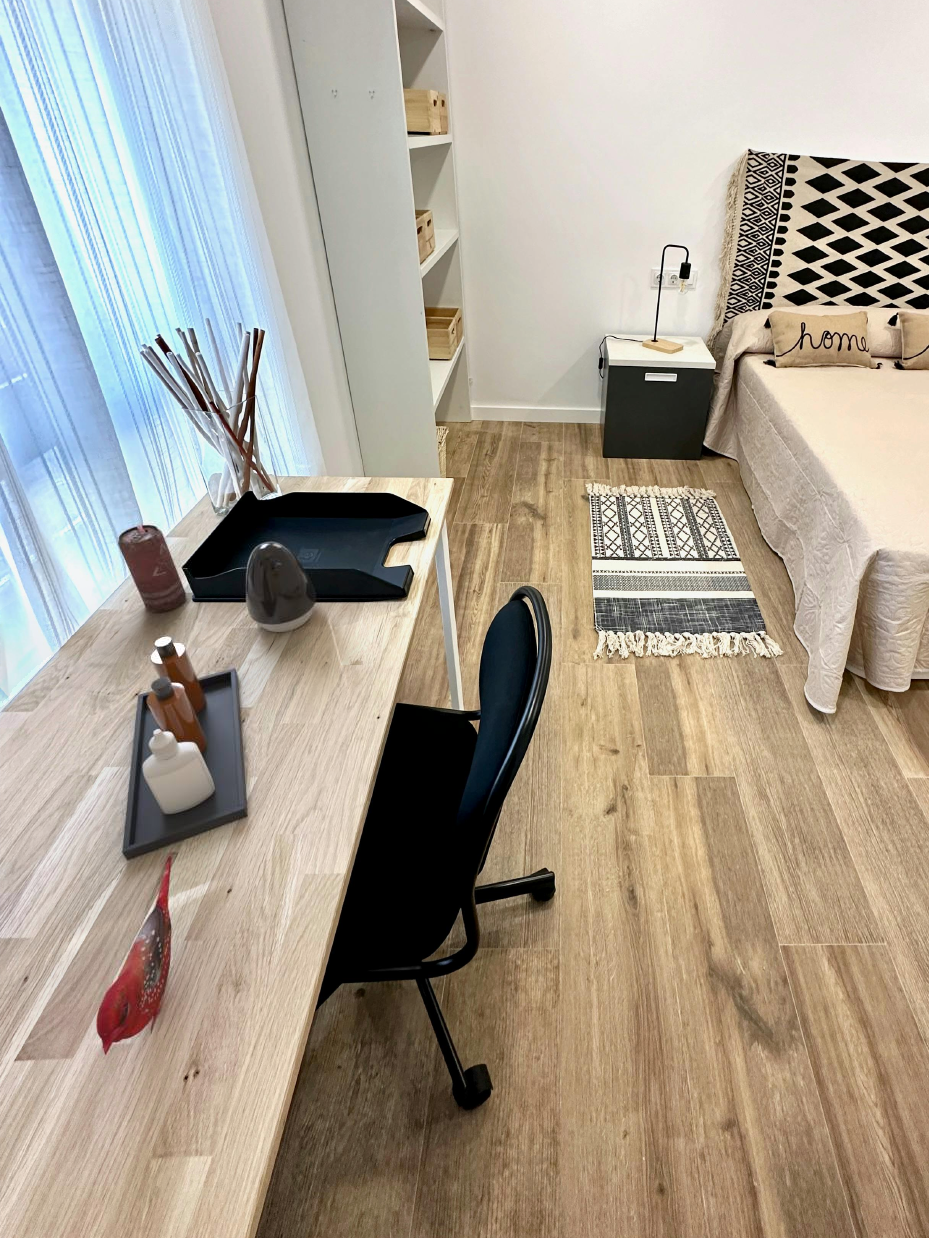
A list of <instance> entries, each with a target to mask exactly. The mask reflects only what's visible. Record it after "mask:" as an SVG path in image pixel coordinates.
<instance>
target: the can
mask: <svg viewBox="0 0 929 1238" xmlns="http://www.w3.org/2000/svg"><path fill="white" fill-rule="evenodd" d="M117 539H118V541H117V545H118V548H119V550H120V552H121V554H122V557H123V559H124V560H125V563H126V567H127V568H128V570H129V572H130V575H131V577H132V580H133V582H134V584H135V586H136V590H137V591H138V594H139V595H140V596H139V597H140V598H141V600H142V602H143V605H144V607H145V609H147V610H149V611H150V612H152V613H164V611H165V612H169V611H172V610H174V609H176V608H177V607H179V606H181V604H183V603H184V601H185V599H186V596H187V595H186V594H187V593H186V591H185V588H184V585H183V583H182V580H181V577H180V574H179V572H178V570H177V567H176V564H175V562H174V560H173V557H172V555H171V551H170V549H169V546H168V544H167V541H166V539H165V536H164V533H163V532H162V530H160V529H159V528H158V527H157V526H155V525H153V524H139V525H137V526H133V527H131V528H129V529H126V530H124V531H123V532H122V533H120V534H119V536H118V538H117Z"/></svg>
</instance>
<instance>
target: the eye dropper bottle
mask: <svg viewBox="0 0 929 1238" xmlns="http://www.w3.org/2000/svg"><path fill="white" fill-rule="evenodd" d="M153 733H154V737H153V738H152V739H151V740H150V742H149V747H150V749H151V751H152V753H153V755H151V756H150V757H149V758H148V759H147V760H146V761H145V762H144V763H143V766H142V767H143V774H144V777H145V779H146V781H147V783H148V785H149V787H150V789H151V791H152V793H153V794H154V796H155V798H156V800H157V802H158V804H159V806H160V808H161V809H162V811H163V812H164V813H165V814H174V813H178V812H182V811H185V810H188V809H190V808H192V807H194V806H196V805H198V804H200V803H201V802H203V801H204V800H206V799H207V798H208V797H210V796H211V795H212V794H213V793H214V790H215V787H214V783H213V780H212V777H211V775H210V773H209V771H208V768H207V766H206V764H205V762H204V759H203V757H202V755H201V753H200V751H199V749H198V747H197V745H196V744H195V743H193V742H181V743H177V741H176V739H175V737H174V735H173V734H172V733H171V732H162V731H161V730H160V729H156V730H155V731H154V732H153Z"/></svg>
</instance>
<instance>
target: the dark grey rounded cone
mask: <svg viewBox="0 0 929 1238" xmlns="http://www.w3.org/2000/svg"><path fill="white" fill-rule="evenodd" d="M247 560H248V561H247V565H246V569H245V583H244V585H245V586H244V589H245V590H244V591H245V592H244V593H245V602H246V609H247V612H248V615H249V617H250V618H251V619H252V620H253V621H254V622H255V623H256V625H258V626H260V627H261V628H262V629H264V630H266V631H268V632H273V633H285V632H290V631H293V630H295V629H297V628H300V627H301V626H302V625H304V624H305V623H306V622H307V621H308V620H309V619H310V618H311V616H312V614H313V613H314V609H315V606H316V605H315V604H316V601H317V593H316V590H315V588H314V585H313V583H312V580H311V578H310V576H309V574H308V573H307V570H305V568H304V566H303V565H302V563H301V562H300V561H299V559H298V558H297V556H296V555H295V554H294V553H293V552H292V551H291V550H290V549H289V548H288V547H287V546H285V545H284V544H282V543H280V542H276V541H266V542H265V541H264V542H263V543H260V544H258V545H257V546H256V547H254V548H253V550H252V552H251V553H250V555H249V557H248V559H247Z"/></svg>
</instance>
